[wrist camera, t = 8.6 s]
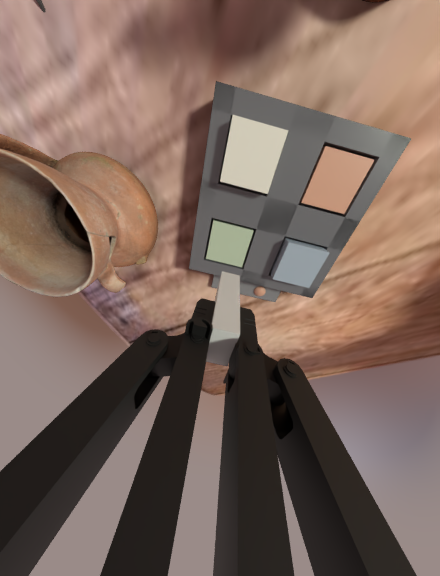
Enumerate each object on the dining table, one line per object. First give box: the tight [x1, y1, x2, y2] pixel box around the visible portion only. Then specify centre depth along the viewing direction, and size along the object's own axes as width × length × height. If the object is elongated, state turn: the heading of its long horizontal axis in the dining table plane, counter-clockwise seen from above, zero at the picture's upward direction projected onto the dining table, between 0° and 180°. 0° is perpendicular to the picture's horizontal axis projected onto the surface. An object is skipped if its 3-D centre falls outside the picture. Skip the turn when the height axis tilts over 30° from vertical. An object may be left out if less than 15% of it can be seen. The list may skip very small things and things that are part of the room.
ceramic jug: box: [0, 134, 158, 297], centre depth 21 cm, size 18×14×14 cm
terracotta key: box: [300, 146, 374, 214], centre depth 21 cm, size 6×6×2 cm
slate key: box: [270, 238, 330, 288], centre depth 25 cm, size 6×6×2 cm
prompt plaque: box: [212, 275, 281, 302], centre depth 31 cm, size 12×3×1 cm, turn 77°
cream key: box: [220, 115, 288, 194], centre depth 19 cm, size 6×6×2 cm
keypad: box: [189, 81, 411, 298], centre depth 24 cm, size 20×20×4 cm
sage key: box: [206, 219, 254, 267], centre depth 26 cm, size 6×6×2 cm
